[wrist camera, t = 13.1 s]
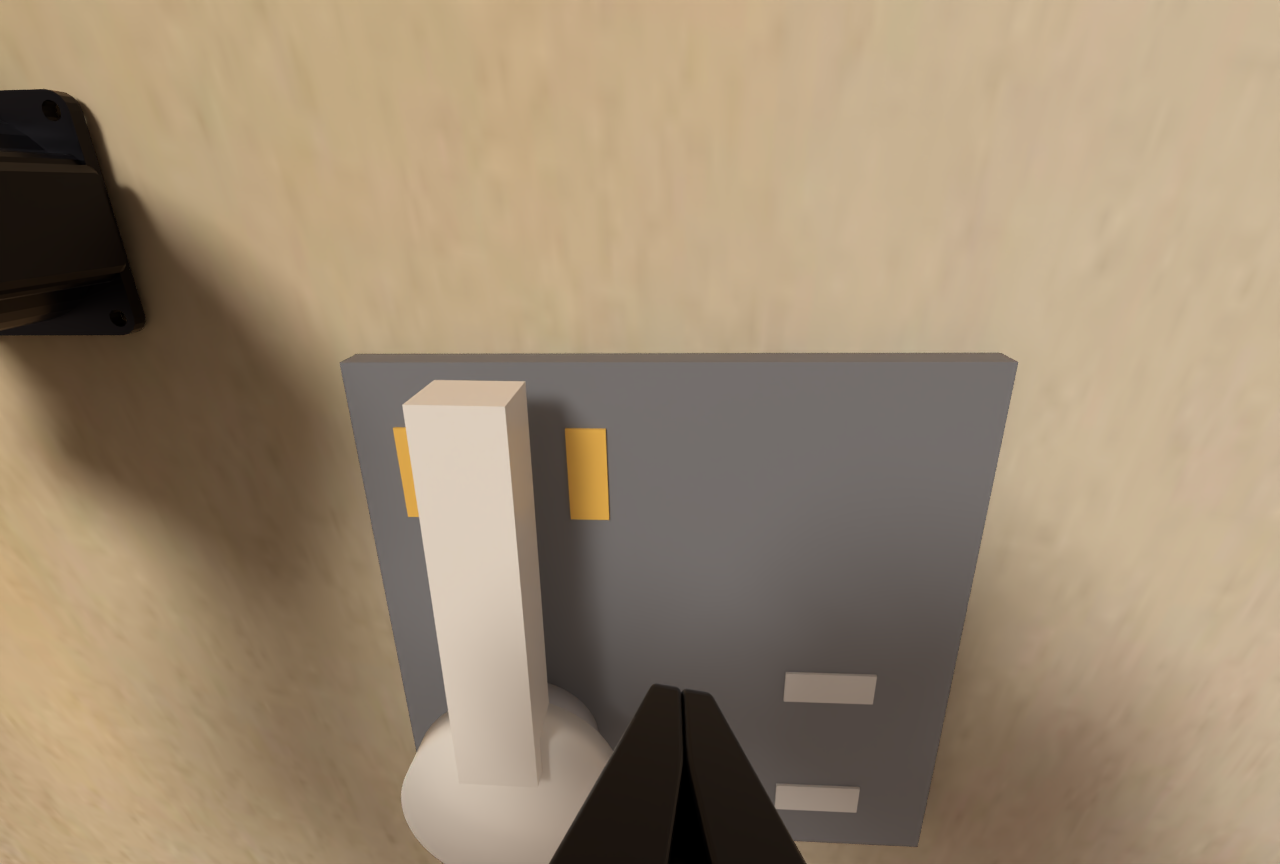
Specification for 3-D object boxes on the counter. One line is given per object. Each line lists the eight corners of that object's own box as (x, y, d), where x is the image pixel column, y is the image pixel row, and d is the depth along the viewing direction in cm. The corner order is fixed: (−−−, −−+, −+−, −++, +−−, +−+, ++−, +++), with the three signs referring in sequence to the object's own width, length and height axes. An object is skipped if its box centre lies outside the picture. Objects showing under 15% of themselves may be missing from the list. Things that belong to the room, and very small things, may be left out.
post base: (439, 800, 26) (415, 860, 24) (356, 354, 19) (311, 377, 17) (908, 822, 25) (932, 887, 22) (1000, 352, 18) (1048, 377, 16)
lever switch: (623, 852, 22) (618, 912, 21) (431, 841, 23) (409, 899, 21) (614, 382, 16) (605, 408, 14) (348, 378, 16) (305, 403, 15)
